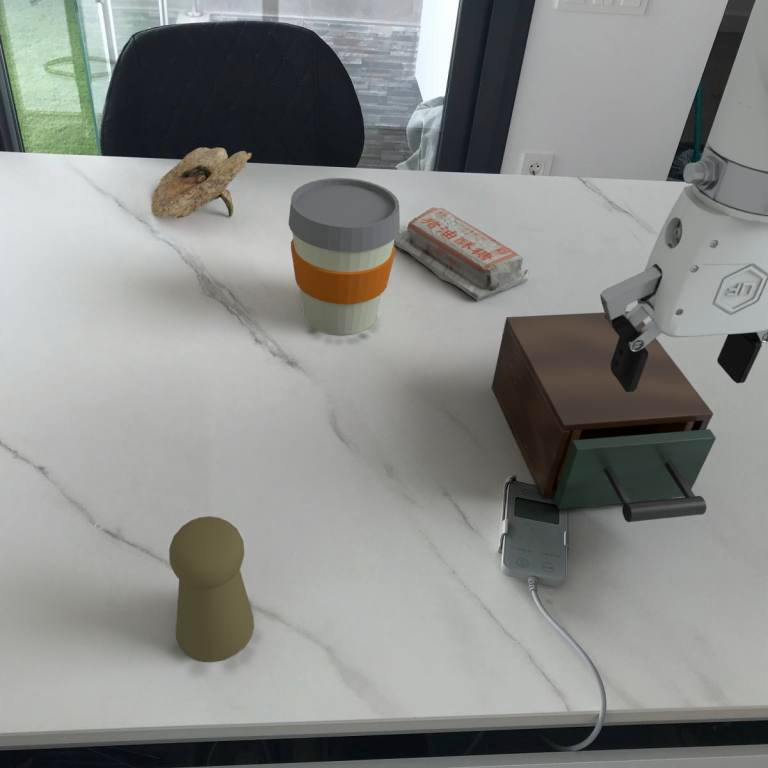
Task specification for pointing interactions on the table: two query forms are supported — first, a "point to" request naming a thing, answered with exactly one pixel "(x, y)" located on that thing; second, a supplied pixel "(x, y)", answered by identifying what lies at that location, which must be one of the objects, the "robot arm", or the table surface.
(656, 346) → the cabinet
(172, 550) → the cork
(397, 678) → the table surface
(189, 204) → the dried bracket fungus
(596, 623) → the table surface
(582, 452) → the drawer
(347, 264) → the reusable coffee cup
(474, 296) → the packaged product
